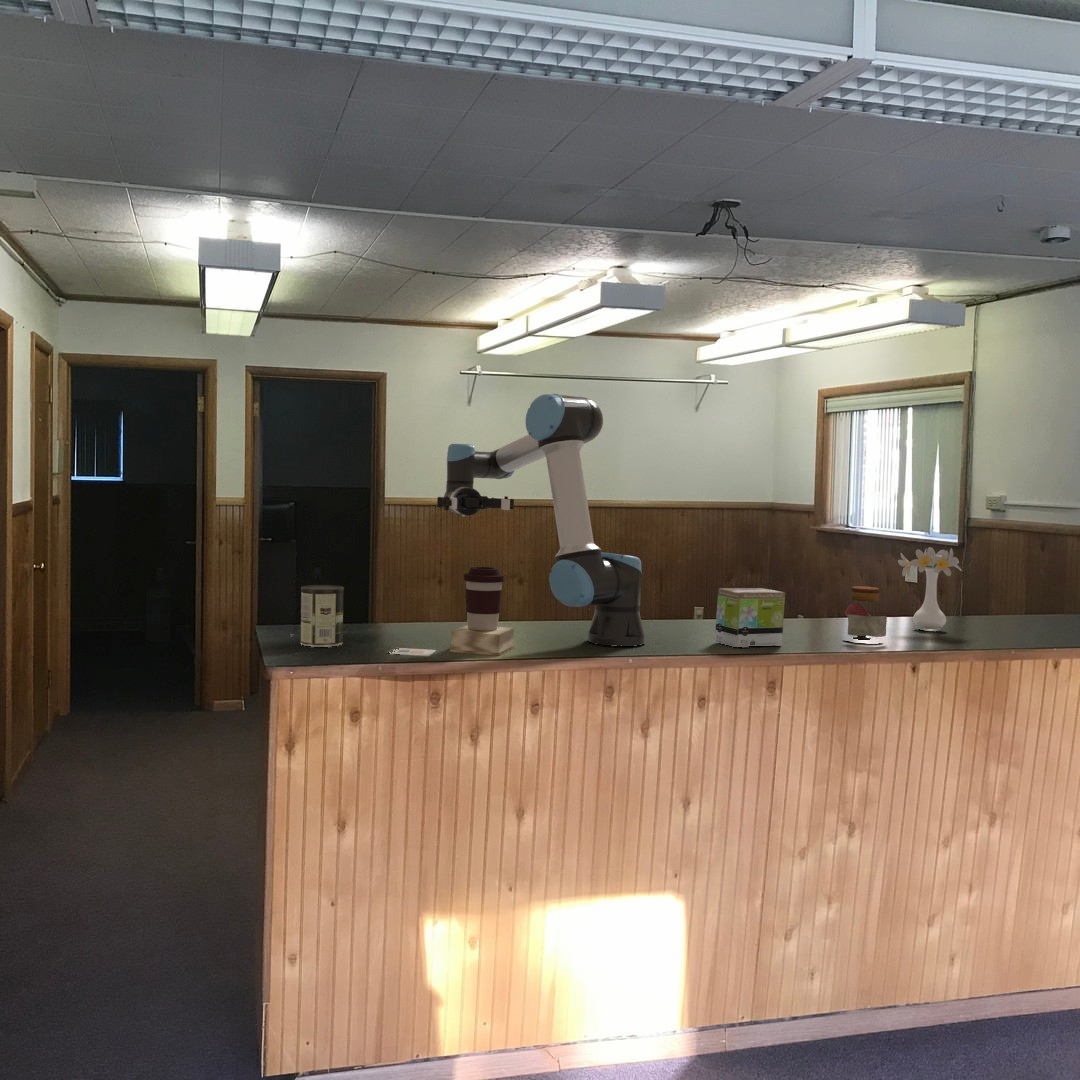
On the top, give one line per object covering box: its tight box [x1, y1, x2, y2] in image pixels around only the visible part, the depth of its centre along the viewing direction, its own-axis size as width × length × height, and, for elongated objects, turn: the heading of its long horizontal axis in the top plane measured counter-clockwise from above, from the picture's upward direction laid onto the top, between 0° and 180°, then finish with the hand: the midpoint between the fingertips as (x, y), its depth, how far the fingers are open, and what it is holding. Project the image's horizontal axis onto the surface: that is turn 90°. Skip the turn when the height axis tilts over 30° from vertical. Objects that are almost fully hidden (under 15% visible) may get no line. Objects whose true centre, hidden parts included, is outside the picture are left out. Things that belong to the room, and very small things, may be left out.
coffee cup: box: [463, 566, 506, 631], centre depth 262 cm, size 10×10×15 cm
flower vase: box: [897, 546, 962, 629], centre depth 322 cm, size 13×18×25 cm
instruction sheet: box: [388, 647, 437, 657], centre depth 256 cm, size 10×8×1 cm
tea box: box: [714, 587, 786, 648], centre depth 284 cm, size 15×10×15 cm, turn 117°
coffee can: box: [300, 584, 345, 648], centre depth 262 cm, size 10×10×14 cm
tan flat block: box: [449, 624, 515, 657], centre depth 262 cm, size 12×12×5 cm
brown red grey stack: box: [844, 585, 888, 640], centre depth 296 cm, size 12×13×15 cm
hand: (482, 504), depth 272 cm, fingers open, 13 cm apart
